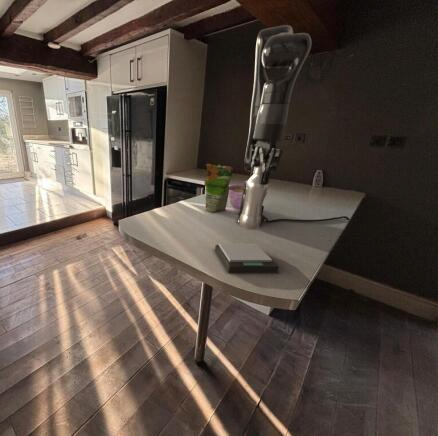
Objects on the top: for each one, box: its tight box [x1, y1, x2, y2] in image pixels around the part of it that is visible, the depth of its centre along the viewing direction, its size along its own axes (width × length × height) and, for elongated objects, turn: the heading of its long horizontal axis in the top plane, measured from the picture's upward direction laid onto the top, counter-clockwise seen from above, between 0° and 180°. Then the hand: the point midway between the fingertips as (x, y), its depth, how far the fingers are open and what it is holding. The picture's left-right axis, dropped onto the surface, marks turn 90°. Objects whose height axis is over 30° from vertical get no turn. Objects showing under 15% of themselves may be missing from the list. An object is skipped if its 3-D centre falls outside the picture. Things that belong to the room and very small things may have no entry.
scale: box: [214, 243, 280, 274], centre depth 80 cm, size 16×14×3 cm
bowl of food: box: [228, 184, 268, 212], centre depth 127 cm, size 20×20×12 cm
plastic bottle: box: [238, 166, 269, 231], centre depth 73 cm, size 6×7×20 cm
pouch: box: [204, 163, 234, 213], centre depth 123 cm, size 11×12×25 cm
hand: (258, 181), depth 71 cm, fingers closed on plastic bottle, 6 cm apart
